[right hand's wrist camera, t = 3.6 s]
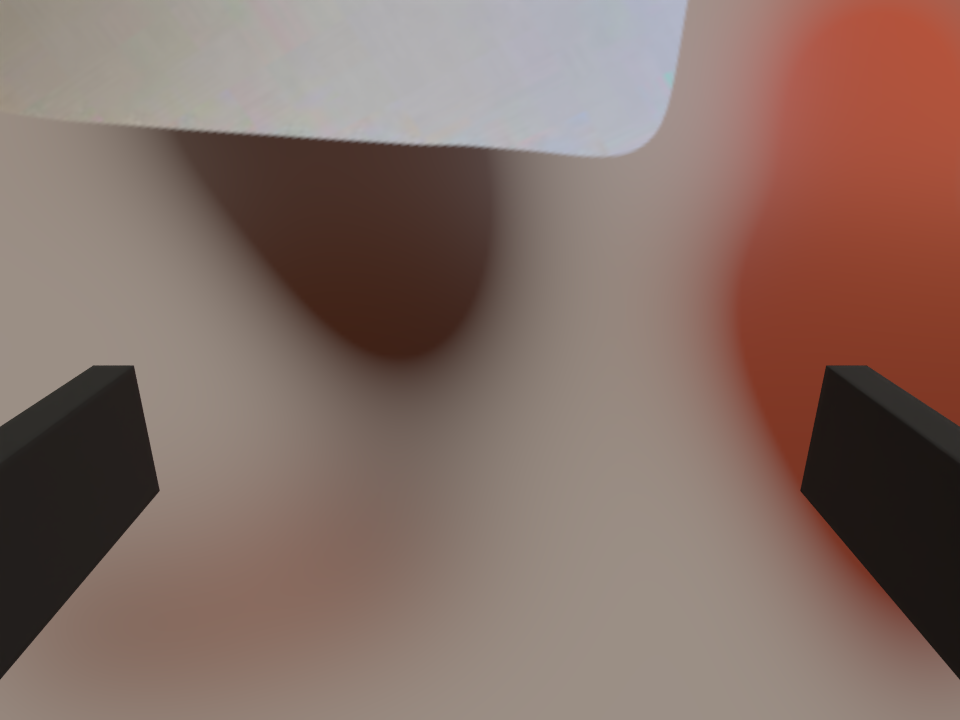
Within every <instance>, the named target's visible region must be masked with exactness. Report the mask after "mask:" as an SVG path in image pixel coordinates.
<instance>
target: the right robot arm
mask: <svg viewBox="0 0 960 720" xmlns="http://www.w3.org/2000/svg"><path fill="white" fill-rule="evenodd" d="M158 492H159V486H158V481H157V476H156V471H155V466H154V461H153V456H152V451H151V447H150V442H149V437H148V432H147V427H146V423H145V418H144V413H143V408H142V403H141V398H140V393H139V389H138V384H137V379H136V374H135V369H134V366H92V367H91V368H89V369H87V370H86V371H84V372H83V373H81V374H80V375H78V376H77V377H75V378H74V379H72V380H71V381H69V382H68V383H66V384H65V385H63V386H62V387H60V388H58V389H57V390H55V391H54V392H52V393H51V394H49V395H48V396H46V397H45V398H43V399H42V400H40V401H39V402H37V403H36V404H34V405H33V406H31V407H30V408H28V409H26V410H25V411H23V412H22V413H20V414H19V415H17V416H16V417H14V418H13V419H11V420H10V421H8V422H7V423H5V424H4V425H2V426H1V427H0V679H1V678H2V677H3V675H4V674H5V673H6V672H7V671H8V670H9V668H10V667H11V666H12V665H13V664H14V663H15V661H16V660H17V659H18V658H19V657H20V655H21V654H22V653H23V652H24V651H25V650H26V648H27V647H28V646H29V645H30V644H31V642H32V641H33V640H34V639H35V638H36V636H37V635H38V634H39V633H40V632H41V631H42V629H43V628H44V627H45V626H46V625H47V623H48V622H49V621H50V620H51V619H52V618H53V616H54V615H55V614H56V613H57V612H58V610H59V609H60V608H61V607H62V606H63V605H64V603H65V602H66V601H67V600H68V599H69V597H70V596H71V595H72V594H73V593H74V592H75V590H76V589H77V588H78V587H79V586H80V584H81V583H82V582H83V581H84V580H85V579H86V577H87V576H88V575H89V574H90V572H91V571H92V570H93V569H94V568H95V567H96V565H97V564H98V563H99V562H100V561H101V560H102V558H103V557H104V556H105V555H106V554H107V552H108V551H109V550H110V549H111V548H112V547H113V545H114V544H115V543H116V542H117V541H118V539H119V538H120V537H121V536H122V535H123V534H124V532H125V531H126V530H127V529H128V528H129V526H130V525H131V524H132V523H133V522H134V521H135V519H136V518H137V517H138V516H139V515H140V513H141V512H142V511H143V510H144V509H145V507H146V506H147V505H148V504H149V503H150V502H151V500H152V499H153V498H154V497H155V496H156V494H157V493H158ZM801 492H802V493H803V495H804V496H805V497H806V498H807V499H808V500H809V502H810V503H811V504H812V505H813V506H814V507H815V509H816V510H817V511H818V512H819V513H820V515H821V516H822V517H823V518H824V519H825V521H826V522H827V523H828V524H829V525H830V526H831V528H832V529H833V530H834V531H835V532H836V534H837V535H838V536H839V537H840V538H841V539H842V541H843V542H844V543H845V544H846V545H847V547H848V548H849V549H850V550H851V551H852V552H853V554H854V555H855V556H856V557H857V558H858V560H859V561H860V562H861V563H862V564H863V566H864V567H865V568H866V569H867V570H868V571H869V573H870V574H871V575H872V576H873V577H874V579H875V580H876V581H877V582H878V583H879V584H880V586H881V587H882V588H883V589H884V590H885V592H886V593H887V594H888V595H889V596H890V597H891V599H892V600H893V601H894V602H895V603H896V605H897V606H898V607H899V608H900V609H901V610H902V612H903V613H904V614H905V615H906V616H907V618H908V619H909V620H910V621H911V622H912V624H913V625H914V626H915V627H916V628H917V629H918V631H919V632H920V633H921V634H922V635H923V637H924V638H925V639H926V640H927V641H928V642H929V644H930V645H931V646H932V647H933V648H934V649H935V651H936V652H937V653H938V654H939V655H940V657H941V658H942V659H943V660H944V661H945V663H946V664H947V665H948V666H949V667H950V668H951V670H952V671H953V672H954V673H955V674H956V675H957V677H958V678H959V679H960V427H959V426H958V425H956V424H955V423H953V422H952V421H950V420H949V419H947V418H946V417H944V416H943V415H941V414H940V413H938V412H937V411H935V410H933V409H932V408H930V407H929V406H927V405H926V404H924V403H923V402H921V401H920V400H918V399H917V398H915V397H914V396H912V395H911V394H909V393H908V392H906V391H905V390H903V389H901V388H900V387H898V386H897V385H895V384H894V383H892V382H891V381H889V380H888V379H886V378H885V377H883V376H882V375H880V374H879V373H877V372H876V371H874V370H873V369H871V368H870V367H868V366H826V369H825V374H824V379H823V384H822V388H821V393H820V398H819V403H818V408H817V413H816V418H815V423H814V427H813V432H812V437H811V442H810V447H809V451H808V456H807V461H806V466H805V471H804V476H803V481H802V485H801Z"/></svg>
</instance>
